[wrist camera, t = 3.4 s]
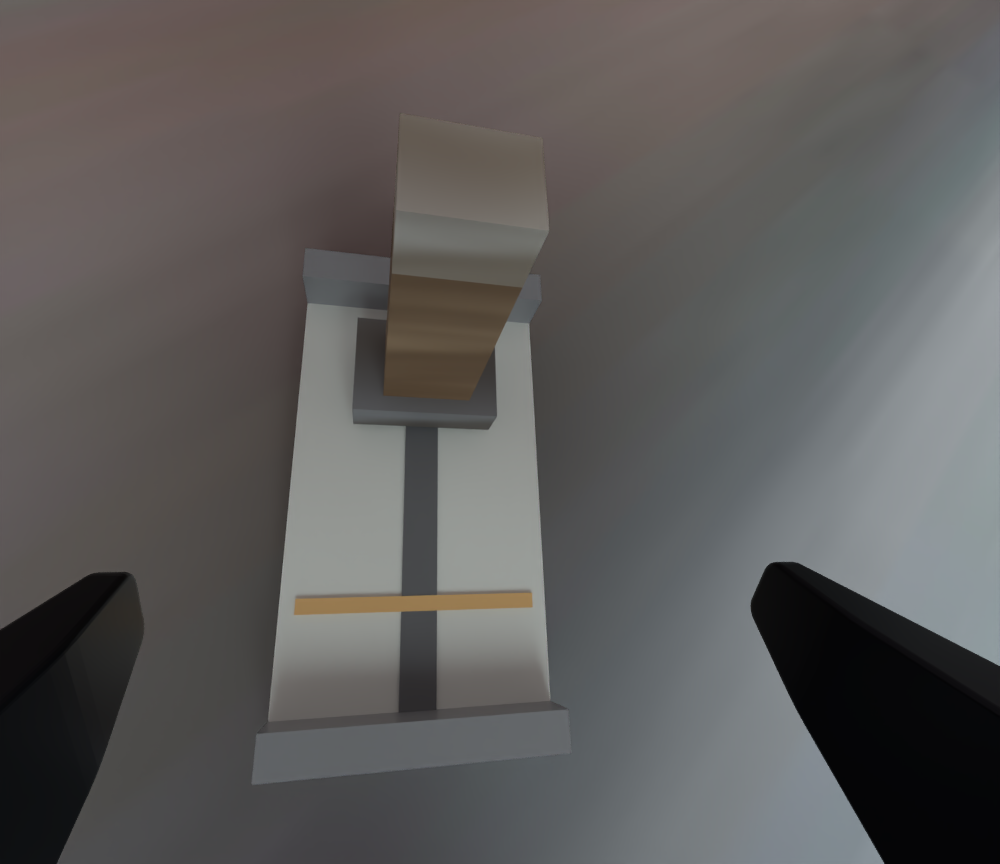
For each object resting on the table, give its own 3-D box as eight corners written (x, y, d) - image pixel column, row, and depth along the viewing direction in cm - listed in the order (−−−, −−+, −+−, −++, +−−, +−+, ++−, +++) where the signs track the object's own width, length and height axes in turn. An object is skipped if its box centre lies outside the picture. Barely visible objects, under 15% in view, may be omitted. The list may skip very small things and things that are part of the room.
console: (535, 728, 20) (571, 753, 16) (274, 751, 18) (251, 785, 14) (516, 322, 25) (540, 274, 22) (314, 303, 23) (305, 248, 20)
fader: (488, 429, 20) (598, 259, 11) (353, 423, 19) (338, 227, 10) (486, 347, 22) (584, 126, 12) (358, 337, 20) (350, 83, 11)
